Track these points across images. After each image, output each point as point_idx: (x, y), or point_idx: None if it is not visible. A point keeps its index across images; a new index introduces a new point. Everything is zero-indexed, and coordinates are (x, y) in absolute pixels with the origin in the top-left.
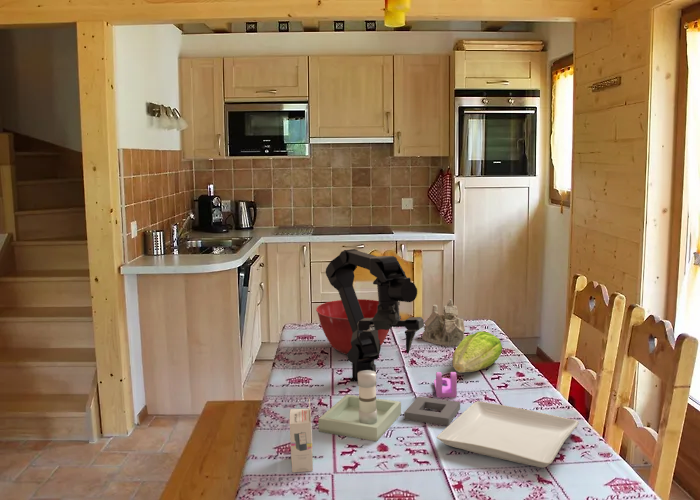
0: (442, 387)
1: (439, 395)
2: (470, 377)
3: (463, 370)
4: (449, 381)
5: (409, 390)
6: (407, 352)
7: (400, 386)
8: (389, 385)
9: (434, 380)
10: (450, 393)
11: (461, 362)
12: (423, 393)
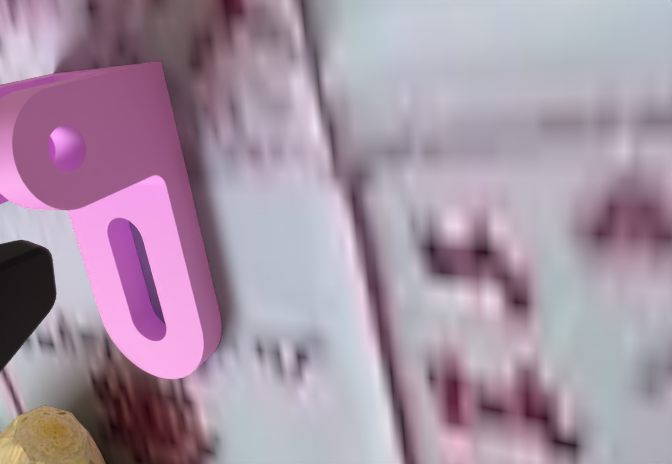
0: (128, 195)
1: (135, 64)
2: (64, 398)
3: (39, 409)
4: (114, 307)
5: (378, 216)
6: (13, 242)
7: (460, 313)
8: (565, 348)
9: (201, 337)
10: (60, 74)
11: (13, 461)
12: (264, 146)
